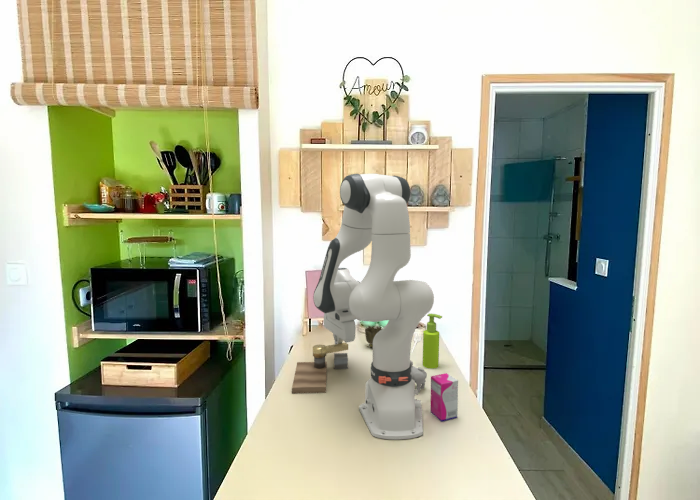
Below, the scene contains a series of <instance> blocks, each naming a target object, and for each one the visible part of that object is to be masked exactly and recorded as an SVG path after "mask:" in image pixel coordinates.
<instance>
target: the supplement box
mask: <svg viewBox="0 0 700 500" xmlns="http://www.w3.org/2000/svg"><path fill="white" fill-rule="evenodd" d="M458 394H459V380H458V379H457V378H455V377H453V376H452V375H451V374H449V373H447V372H445V373H440V374H436V375H435V374H434V375H431V376H430V413H431V414H432V415H433V416H434V417H435V418H436V419H437V420H439V421H440V423H444V422H446V421H450V420H454V419H458V415H459V414H458V412H459V411H458V409H459V408H458V407H459V405H458V404H459V403H458V402H459V401H458V399H459V398H458V397H459V395H458Z"/></svg>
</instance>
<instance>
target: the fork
mask: <svg viewBox="0 0 700 500" xmlns="http://www.w3.org/2000/svg"><path fill="white" fill-rule="evenodd" d="M413 341H414V344H413V346H412V347H411V351H410V354H413V352H414V350H415V348H416V346H417V344H418V342H419V343H420V342H421V341H422V334H419V333H416V334H415V335H414V337H413Z"/></svg>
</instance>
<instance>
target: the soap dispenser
mask: <svg viewBox="0 0 700 500" xmlns="http://www.w3.org/2000/svg"><path fill="white" fill-rule="evenodd" d="M426 315H427V317H428V319H429V321H427V322H426V329H425V330H423V331H422V333H423V334H422V335H423V337H422V338H423V339H422V366H423V367H424V368H426V369H432V370H434V369H438V368H439V363H440V362H439V358H440V357H439V355H440V353H439V352H440V331H438V330H437V322H435V318H437V319H439V320H441V319H443V315H440V314H436V313H427V314H426Z"/></svg>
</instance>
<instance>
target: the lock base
mask: <svg viewBox="0 0 700 500" xmlns="http://www.w3.org/2000/svg"><path fill="white" fill-rule="evenodd" d="M348 359H349V357H348V353H347V352H333V361H334V363H333V365H334V367H333V369H334V370H339V369H340V370H343V369H345V370H346V369H349V362H348V361H349V360H348ZM313 360H314V361H297V362H296V367H295V371H294V375H293V380H292V386H291V394H316V393H317V394H321V393H322V394H325V393H326V394H327V373H328V372H327V371H328V370H327V368H328V362H327V361H326V356H325V357H322V358H316V357H314V356H313Z"/></svg>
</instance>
